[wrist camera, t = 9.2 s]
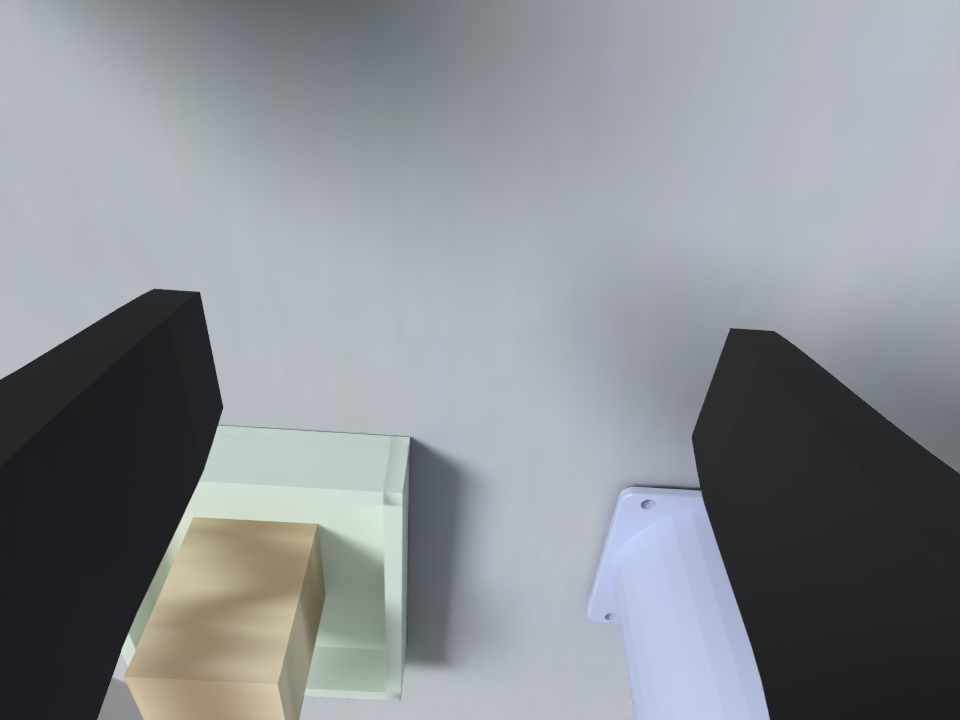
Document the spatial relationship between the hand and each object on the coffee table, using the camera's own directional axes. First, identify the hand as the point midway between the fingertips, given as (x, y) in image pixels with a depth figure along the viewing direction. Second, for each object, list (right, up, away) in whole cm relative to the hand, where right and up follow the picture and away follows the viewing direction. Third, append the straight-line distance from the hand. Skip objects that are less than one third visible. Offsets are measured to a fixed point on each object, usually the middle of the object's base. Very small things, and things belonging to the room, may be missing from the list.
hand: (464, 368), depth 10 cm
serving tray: (-8, -7, +18) cm, 21 cm away
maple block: (-8, -7, +17) cm, 20 cm away
